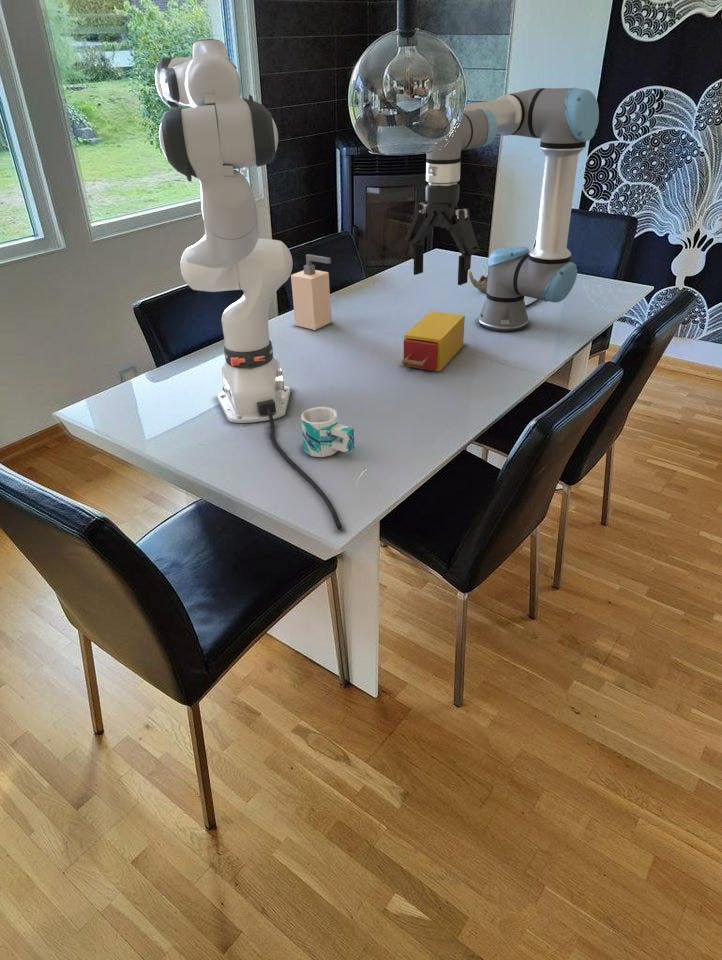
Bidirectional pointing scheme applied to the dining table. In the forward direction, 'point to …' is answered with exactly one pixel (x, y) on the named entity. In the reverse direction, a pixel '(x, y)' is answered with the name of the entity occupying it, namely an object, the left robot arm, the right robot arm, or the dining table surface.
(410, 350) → the drawer
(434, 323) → the cabinet
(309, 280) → the soap dispenser
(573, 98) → the right robot arm
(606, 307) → the dining table surface
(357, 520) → the dining table surface
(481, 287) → the jawbone
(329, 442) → the mug
